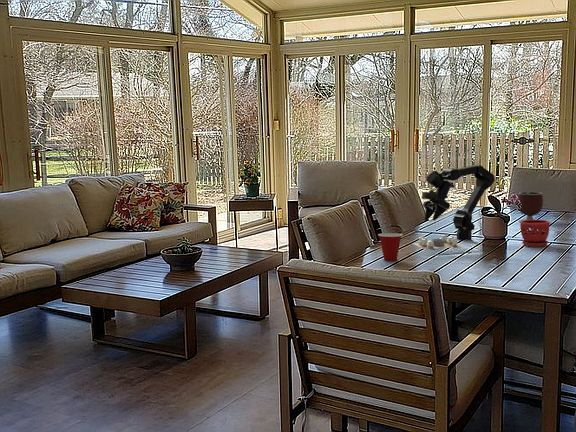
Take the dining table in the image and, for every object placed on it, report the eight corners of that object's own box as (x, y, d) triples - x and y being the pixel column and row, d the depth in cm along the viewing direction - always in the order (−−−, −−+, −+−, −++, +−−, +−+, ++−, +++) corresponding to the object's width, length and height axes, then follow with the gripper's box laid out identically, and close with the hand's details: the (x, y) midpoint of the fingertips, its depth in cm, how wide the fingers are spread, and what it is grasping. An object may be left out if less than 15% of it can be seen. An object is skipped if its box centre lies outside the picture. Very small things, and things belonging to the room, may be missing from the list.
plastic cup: (404, 257, 293) (404, 231, 291) (400, 262, 283) (400, 236, 281) (380, 256, 296) (380, 231, 295) (376, 261, 286) (375, 235, 285)
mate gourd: (521, 219, 387) (521, 186, 384) (545, 221, 379) (545, 187, 376) (513, 223, 374) (513, 189, 371) (537, 224, 366) (538, 190, 363)
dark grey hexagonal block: (441, 243, 316) (441, 238, 316) (447, 245, 310) (447, 240, 310) (428, 244, 315) (428, 239, 315) (433, 246, 309) (433, 241, 309)
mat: (461, 248, 308) (461, 248, 308) (471, 252, 298) (471, 252, 298) (426, 251, 304) (426, 250, 304) (435, 255, 295) (435, 254, 295)
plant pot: (549, 243, 314) (550, 219, 312) (548, 248, 302) (548, 223, 300) (521, 242, 319) (521, 218, 318) (518, 247, 308) (519, 222, 306)
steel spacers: (447, 241, 321) (447, 234, 320) (460, 246, 308) (460, 239, 307) (416, 243, 318) (416, 236, 317) (427, 248, 305) (427, 241, 304)
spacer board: (449, 243, 323) (449, 240, 322) (463, 248, 308) (463, 246, 308) (412, 245, 319) (412, 243, 319) (424, 251, 304) (424, 249, 304)
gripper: (420, 186, 323) (407, 214, 321) (436, 183, 304) (423, 212, 302) (438, 196, 325) (426, 223, 323) (456, 193, 306) (443, 222, 304)
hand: (429, 220), depth 313 cm, fingers open, 9 cm apart
